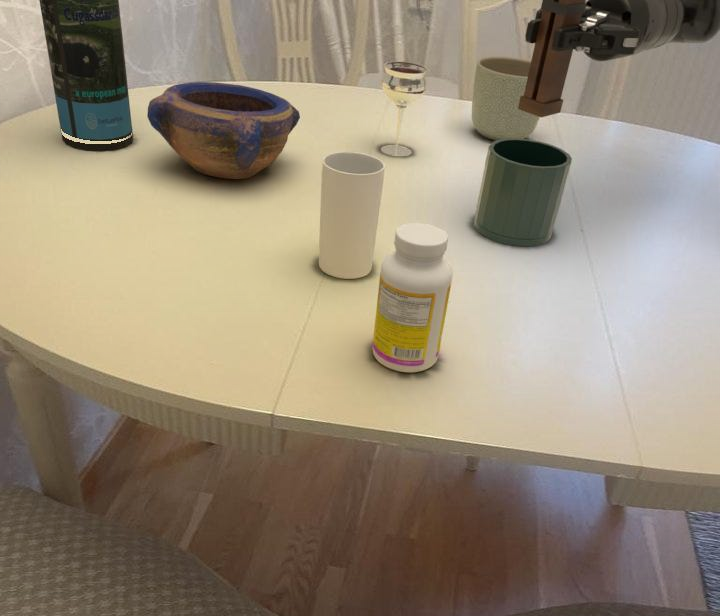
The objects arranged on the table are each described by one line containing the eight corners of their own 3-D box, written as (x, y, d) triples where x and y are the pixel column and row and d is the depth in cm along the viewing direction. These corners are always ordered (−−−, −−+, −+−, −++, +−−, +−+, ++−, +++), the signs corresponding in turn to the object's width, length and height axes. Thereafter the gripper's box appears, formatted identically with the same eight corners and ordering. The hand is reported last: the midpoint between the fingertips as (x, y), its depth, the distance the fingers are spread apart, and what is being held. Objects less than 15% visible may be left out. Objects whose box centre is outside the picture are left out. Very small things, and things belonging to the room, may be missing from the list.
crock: (542, 216, 105) (561, 142, 99) (558, 249, 98) (580, 171, 91) (468, 210, 105) (483, 135, 98) (479, 243, 97) (496, 164, 90)
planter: (520, 154, 124) (536, 82, 117) (453, 135, 128) (464, 64, 121) (546, 136, 132) (563, 68, 125) (483, 119, 137) (495, 52, 129)
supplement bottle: (406, 332, 79) (424, 212, 70) (450, 362, 75) (475, 239, 67) (357, 350, 75) (369, 226, 67) (401, 383, 72) (420, 256, 63)
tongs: (536, 104, 94) (570, -41, 83) (560, 112, 92) (597, -35, 82) (517, 109, 91) (549, -40, 81) (541, 117, 90) (577, -33, 79)
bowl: (313, 164, 112) (317, 91, 106) (251, 203, 100) (250, 123, 93) (210, 137, 117) (208, 66, 110) (138, 171, 104) (130, 93, 98)
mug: (360, 286, 85) (370, 179, 77) (306, 271, 87) (311, 164, 79) (392, 252, 92) (404, 152, 84) (342, 239, 94) (349, 139, 86)
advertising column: (93, 121, 117) (60, -124, 97) (153, 138, 114) (131, -112, 94) (41, 140, 110) (-8, -123, 90) (103, 158, 106) (67, -109, 86)
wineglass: (366, 147, 120) (373, 63, 112) (396, 140, 124) (406, 59, 116) (395, 161, 116) (405, 76, 108) (426, 154, 120) (438, 71, 112)
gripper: (583, -24, 95) (500, -17, 85) (684, 0, 88) (606, 11, 78) (567, 43, 100) (486, 57, 90) (661, 71, 93) (585, 90, 83)
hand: (543, 36), depth 84 cm, fingers closed on tongs, 3 cm apart
